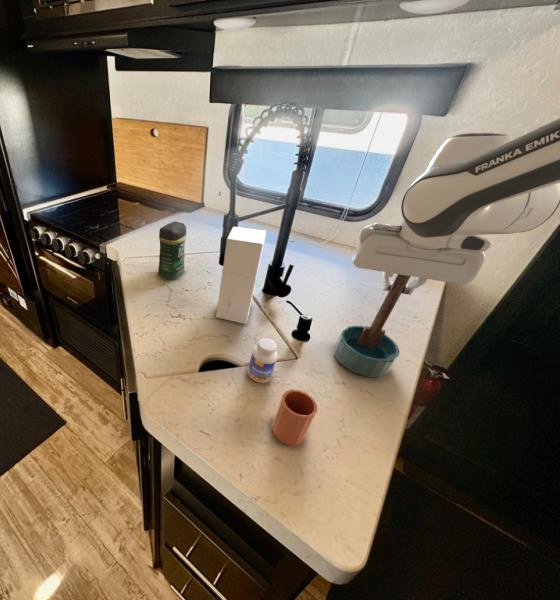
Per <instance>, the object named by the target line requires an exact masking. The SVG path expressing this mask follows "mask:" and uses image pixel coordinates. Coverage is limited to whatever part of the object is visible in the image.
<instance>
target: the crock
mask: <svg viewBox="0 0 560 600" xmlns="http://www.w3.org/2000/svg"><path fill="white" fill-rule="evenodd" d="M317 413H318V404H317V402H316V400H315V399H314V398H313V397H312V396H311V395H309V394H308V393H307V392H304V391H302V390H300V389H289V390H286V391H285V392H284V393H282V395H281V399H280V400H279V403H278V405H277V409H276V412H275V415H274V418H273V421H272V424H271V431H272V433H273V435H274V437H275V438H276V439H277V440H278V441H279V442H281V443H282V444H285V445H287V446H291V447H292V446H299V445H300V444H302V443H303V441H304V439H305V438H306V436H307V434H308V431H309V430H310V427H311V425H312V423H313V421H314V419H315V417H316V415H317Z"/></svg>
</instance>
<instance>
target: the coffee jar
mask: <svg viewBox="0 0 560 600" xmlns="http://www.w3.org/2000/svg"><path fill="white" fill-rule="evenodd" d="M186 239H187V226H186V225H185V223H183V222H180V221H175V220H174V221H172V222H169V223H167V224H165V225H164V226H161V227H160V228H159V233H158V240H159V257H158V259H159V260H158V275H159V277H161V278H163V279H166V280H176V279H178V278H179V277H180V276H182V274H183V273H185V248H186V247H185V245H186Z"/></svg>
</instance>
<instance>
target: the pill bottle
mask: <svg viewBox="0 0 560 600" xmlns="http://www.w3.org/2000/svg"><path fill="white" fill-rule="evenodd" d="M277 349H278V344H277V343H276V341H274V340H273V339H271V338H266V337H264V338H261V339H259V340H258V342H257V345H255V346H254V347H253V349H252V352H251V356H250V359H249V365H248V368H247V374H248V377H249V378H250V379H252V380H253V381H254V382H257V383H261V384H262V383H267V382H269V381H270V379H271V378H272V375H273V372H274V370H275V366H276V364H277V360H278V353H277Z"/></svg>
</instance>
